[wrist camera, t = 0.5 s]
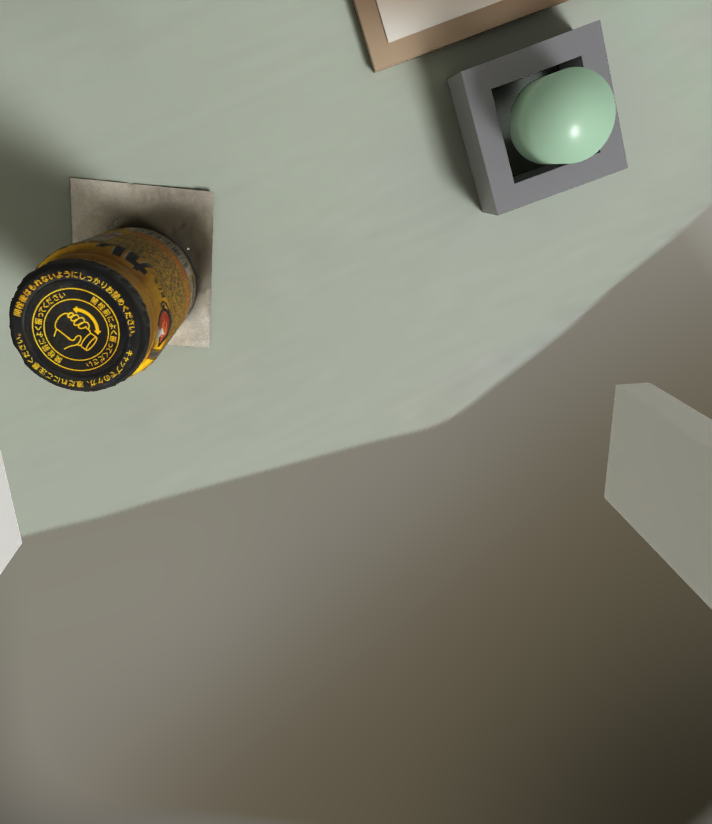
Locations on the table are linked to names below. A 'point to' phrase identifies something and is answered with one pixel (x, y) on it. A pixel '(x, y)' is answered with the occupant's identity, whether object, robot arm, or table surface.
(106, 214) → the condiment
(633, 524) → the robot arm
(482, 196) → the button box
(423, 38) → the framed board
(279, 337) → the table surface
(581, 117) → the button
